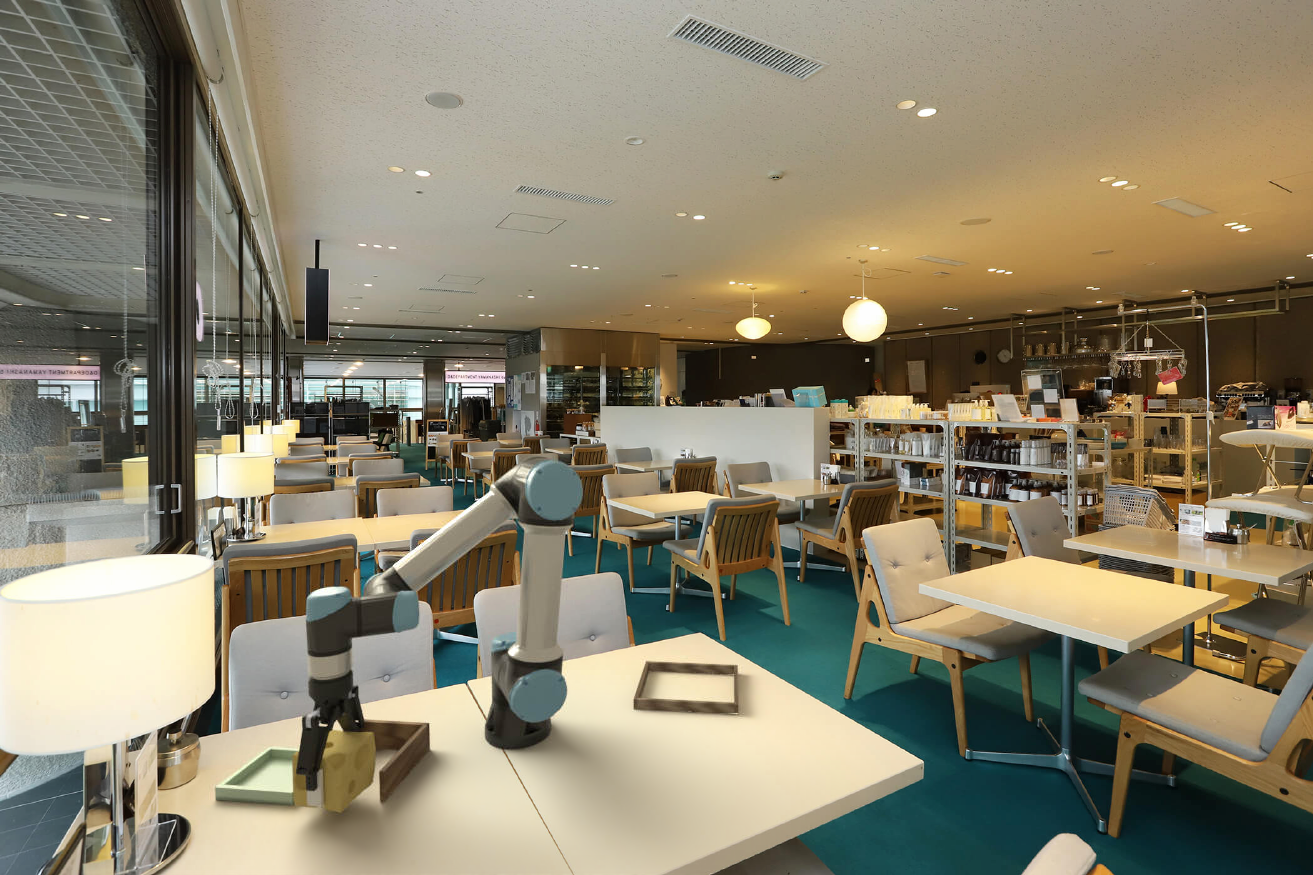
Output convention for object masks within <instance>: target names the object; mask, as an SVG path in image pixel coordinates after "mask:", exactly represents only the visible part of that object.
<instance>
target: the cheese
mask: <svg viewBox="0 0 1313 875" xmlns="http://www.w3.org/2000/svg"><path fill="white" fill-rule="evenodd" d="M376 753H377V749H376V747H375V738H374V733H373V732H347V731H343V730H335V729H332V731H330V732H329V735H328V739H327V743H326V746H325V750H324V754H323V758H322V761H321V765H320V769H323V790H324V804H323V805H322V807H323V808H324V810H326V811H330V812H334V813H335V812H337V813H342V812H344V811H345V810H346V809H347V808H348V806H349V805H351V803H353V801H354V800H355V799H357V797H359V796H360V795H361V794H362V793H363V792H364V791H365V790H367V789H368V788H369V787H370V786H371V785H372V784H373V783H374V778H375V777H374V776H375V770H376V769H375V768H376V757H377V754H376ZM298 755H299V751H298V752H296V753H295V754H293V757H292V771H293V795H294V806H295V807H297V806H298V807H303V808H318V807H319V806H308V805H307V790H306V776H305V775H297V774H296V768H297V762H298Z"/></svg>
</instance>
